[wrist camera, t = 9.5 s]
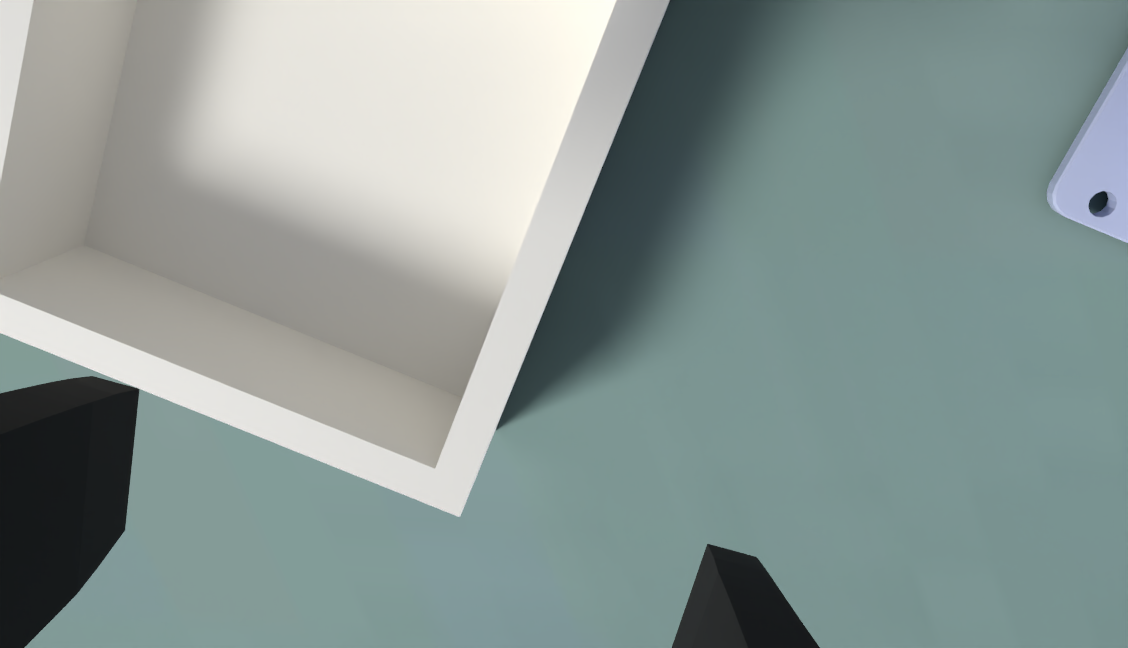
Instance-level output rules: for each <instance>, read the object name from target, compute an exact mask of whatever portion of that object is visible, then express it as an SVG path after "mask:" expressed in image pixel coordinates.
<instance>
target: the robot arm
mask: <svg viewBox="0 0 1128 648" xmlns="http://www.w3.org/2000/svg"><path fill="white" fill-rule="evenodd" d="M1101 191H1105V192H1107V196H1108V201H1107V205H1106V206H1105V207H1104V208H1103V209H1102V210H1101V211H1099V212H1096V213H1090V211H1089V207H1088V205H1089V201H1090V199H1091V198H1092V197H1093V196H1094V195H1095V194H1096V193H1099V192H1101ZM1047 201H1048V203H1049V205H1050V206H1051V208H1052V209H1053V210H1054V211H1056V212H1057V213H1059V214H1060V215H1062V216H1064V217H1066V218H1069V219H1071V220H1074V221H1076V222H1078V223H1081V224H1083V225H1086V226H1088V227H1090V228H1093V229H1095V230H1098V231H1100V232H1102V233H1105V234H1107V235H1110V236H1112V237H1114V238H1117V239H1119V240H1122V241H1124V242H1127V243H1128V48H1127V50H1126V51H1125V53H1124V55H1123V57H1122V58H1121V60H1120V62H1119V63H1118V65H1117V67H1116V69H1115V70H1114V72H1113V74H1112V76H1111V77H1110V79H1109V81H1108V83H1107V84H1106V86H1105V88H1104V89H1103V91H1102V93H1101V95H1100V96H1099V98H1098V100H1097V102H1096V103H1095V105H1094V107H1093V109H1092V110H1091V112H1090V114H1089V115H1088V117H1087V119H1086V121H1085V122H1084V124H1083V126H1082V128H1081V129H1080V131H1079V133H1078V135H1077V136H1076V138H1075V140H1074V141H1073V143H1072V145H1071V147H1070V148H1069V150H1068V152H1067V154H1066V155H1065V157H1064V159H1063V161H1062V162H1061V164H1060V166H1059V167H1058V169H1057V171H1056V173H1055V174H1054V176H1053V178H1052V180H1051V181H1050V184H1049V186H1048V189H1047ZM138 397H139V389H137V388H134V387H130V386H126V385H123V384H119V383H115V382H112V381H108V380H104V379H101V378H97V377H93V376H90V377H81V378H73V379H67V380H61V381H56V382H50V383H46V384H41V385H36V386H31V387H27V388H22V389H18V390H14V391H9V392H5V393H0V648H24V647H25V646H26V645H27V644H28V643H29V642H30V641H31V640H32V639H33V638H34V637H35V636H36V635H37V634H38V633H39V632H40V631H41V630H42V629H43V628H44V627H45V626H46V625H47V624H48V623H49V622H50V621H51V620H52V619H53V618H54V617H55V616H56V615H57V614H58V613H59V612H60V611H61V610H62V609H63V608H64V607H65V606H66V605H67V604H68V603H69V602H70V601H71V599H72V598H73V597H74V596H75V595H76V594H77V593H78V592H79V591H80V589H81V588H82V587H83V585H84V584H85V583H86V582H87V580H88V579H89V578H90V577H91V575H92V574H93V573H94V571H95V570H96V569H97V568H98V566H99V565H100V564H101V562H102V561H103V560H104V558H105V557H106V555H107V554H108V553H109V551H110V550H111V549H112V547H113V546H114V544H115V543H116V542H117V540H118V539H119V538H120V536H121V535H122V533H123V532H124V531H125V524H126V515H127V505H128V495H129V485H130V475H131V465H132V456H133V446H134V436H135V426H136V416H137V407H138ZM672 648H820V647H819V646H818V645H817V643H816V642H815V640H814V639H813V638H812V636H811V635H810V633H809V632H808V630H807V629H806V628H805V626H804V625H803V623H802V622H801V620H800V619H799V617H798V616H797V615H796V613H795V612H794V610H793V609H792V607H791V606H790V604H789V603H788V601H787V600H786V598H785V597H784V595H783V594H782V593H781V591H780V590H779V588H778V587H777V585H776V584H775V582H774V581H773V579H772V578H771V576H770V575H769V573H768V572H767V571H766V569H765V568H764V566H763V565H762V564H761V562H760V561H759V560H758V558H757V557H754V556H751V555H747V554H743V553H740V552H736V551H732V550H728V549H725V548H721V547H717V546H714V545H710V544H707V547H706V550H705V553H704V556H703V558H702V561H701V564H700V567H699V570H698V573H697V576H696V579H695V582H694V585H693V588H692V590H691V593H690V596H689V599H688V602H687V605H686V608H685V611H684V614H683V617H682V620H681V622H680V625H679V628H678V631H677V634H676V637H675V640H674V643H673V646H672Z"/></svg>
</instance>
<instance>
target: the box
mask: <svg viewBox="0 0 1128 648" xmlns="http://www.w3.org/2000/svg"><path fill="white" fill-rule="evenodd" d="M669 2H670V0H0V333H2V334H4V335H7V336H9V337H12V338H14V339H17V340H19V341H22V342H24V343H27V344H29V345H32V346H34V347H37V348H39V349H42V350H44V351H47V352H49V353H52V354H54V355H57V356H59V357H62V358H64V359H67V360H69V361H72V362H74V363H77V364H79V365H82V366H84V367H87V368H89V369H92V370H94V371H97V372H99V373H102V374H104V375H107V376H109V377H112V378H114V379H117V380H119V381H122V382H124V383H126V384H129V385H131V386H134V387H136V388H139V389H141V390H144V391H146V392H149V393H151V394H154V395H156V396H159V397H161V398H164V399H166V400H169V401H171V402H174V403H176V404H179V405H181V406H184V407H186V408H189V409H191V410H194V411H196V412H199V413H201V414H204V415H206V416H209V417H211V418H214V419H216V420H219V421H221V422H224V423H226V424H229V425H231V426H234V427H236V428H239V429H241V430H244V431H246V432H249V433H251V434H254V435H256V436H259V437H261V438H264V439H266V440H269V441H271V442H274V443H276V444H279V445H281V446H284V447H286V448H289V449H291V450H294V451H296V452H299V453H301V454H304V455H306V456H309V457H311V458H314V459H316V460H319V461H321V462H324V463H326V464H329V465H331V466H334V467H336V468H339V469H341V470H344V471H346V472H349V473H351V474H354V475H356V476H358V477H361V478H363V479H366V480H368V481H371V482H373V483H376V484H378V485H381V486H383V487H386V488H388V489H391V490H393V491H396V492H398V493H401V494H403V495H406V496H408V497H411V498H413V499H416V500H418V501H421V502H423V503H426V504H428V505H431V506H433V507H436V508H438V509H441V510H443V511H446V512H448V513H451V514H453V515H456V516H458V517H460V515H461V513H462V511H463V508H464V506H465V503H466V501H467V498H468V496H469V494H470V491H471V489H472V486H473V484H474V481H475V479H476V476H477V474H478V472H479V469H480V467H481V464H482V462H483V459H484V457H485V455H486V452H487V450H488V447H489V445H490V442H491V440H492V438H493V435H494V433H495V430H496V428H497V425H498V423H499V420H500V418H501V415H502V413H503V411H504V408H505V406H506V403H507V401H508V398H509V396H510V393H511V391H512V388H513V386H514V383H515V381H516V379H517V376H518V374H519V371H520V369H521V366H522V364H523V361H524V359H525V356H526V354H527V351H528V349H529V347H530V344H531V342H532V339H533V337H534V334H535V332H536V329H537V327H538V324H539V322H540V319H541V317H542V315H543V312H544V310H545V307H546V305H547V302H548V300H549V297H550V295H551V292H552V290H553V287H554V285H555V283H556V280H557V278H558V275H559V273H560V270H561V268H562V265H563V263H564V260H565V258H566V255H567V253H568V251H569V248H570V246H571V243H572V241H573V238H574V236H575V233H576V231H577V228H578V226H579V223H580V221H581V219H582V216H583V214H584V211H585V209H586V206H587V204H588V201H589V199H590V196H591V194H592V191H593V189H594V187H595V184H596V182H597V179H598V177H599V174H600V172H601V169H602V167H603V164H604V162H605V159H606V157H607V155H608V152H609V150H610V147H611V145H612V142H613V140H614V137H615V135H616V132H617V130H618V127H619V125H620V123H621V120H622V118H623V115H624V113H625V110H626V108H627V105H628V103H629V100H630V98H631V95H632V93H633V91H634V88H635V86H636V83H637V81H638V78H639V76H640V73H641V71H642V68H643V66H644V63H645V61H646V59H647V56H648V54H649V51H650V49H651V46H652V44H653V41H654V39H655V36H656V34H657V31H658V29H659V27H660V24H661V22H662V19H663V17H664V14H665V12H666V9H667V7H668V4H669Z"/></svg>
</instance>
